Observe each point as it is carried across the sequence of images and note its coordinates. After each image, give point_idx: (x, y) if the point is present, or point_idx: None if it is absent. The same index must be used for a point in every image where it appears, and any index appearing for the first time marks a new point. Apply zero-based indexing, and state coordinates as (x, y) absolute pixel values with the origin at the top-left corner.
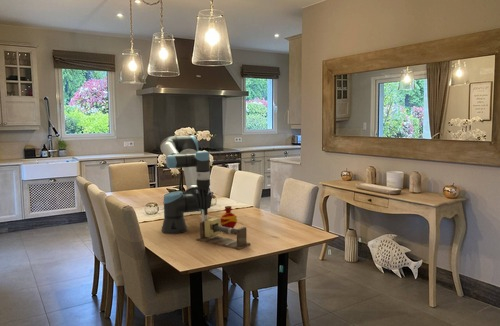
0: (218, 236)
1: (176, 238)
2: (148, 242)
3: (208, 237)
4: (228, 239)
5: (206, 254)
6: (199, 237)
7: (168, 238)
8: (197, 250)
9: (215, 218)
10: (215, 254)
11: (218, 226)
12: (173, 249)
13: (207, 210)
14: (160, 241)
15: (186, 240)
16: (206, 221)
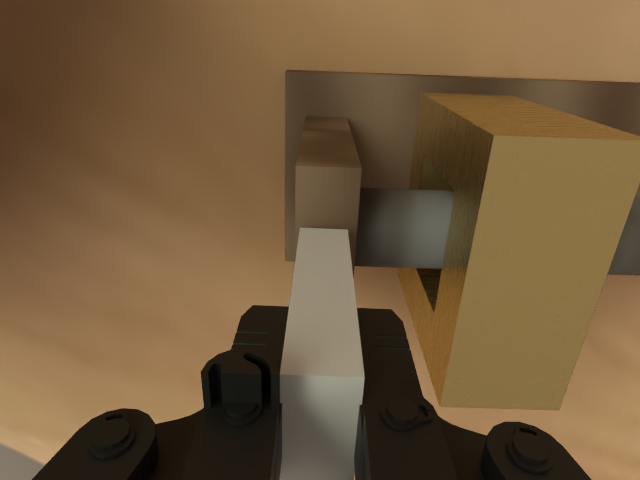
0: (452, 84)
1: (94, 301)
2: (26, 453)
3: (371, 176)
4: (618, 118)
5: (567, 437)
6: (287, 222)
7: (41, 332)
8: (462, 414)
9: (555, 222)
10: (630, 413)
11: (618, 267)
12: None
13: (418, 380)
14: (68, 406)
15: (214, 298)
16: (480, 401)
